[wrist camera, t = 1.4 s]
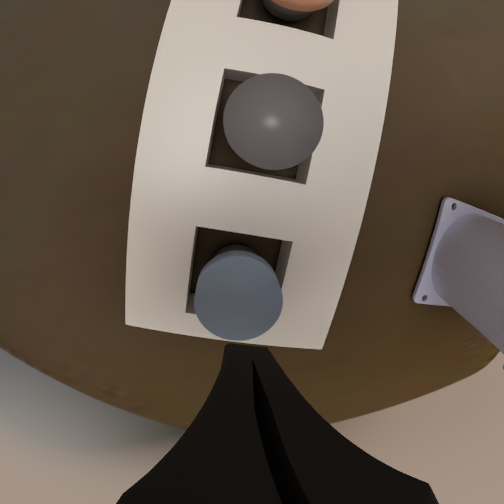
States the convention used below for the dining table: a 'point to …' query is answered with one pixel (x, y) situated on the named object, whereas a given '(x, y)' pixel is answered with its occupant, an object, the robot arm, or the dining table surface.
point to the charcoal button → (273, 121)
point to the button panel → (250, 182)
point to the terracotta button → (294, 8)
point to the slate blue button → (237, 294)
